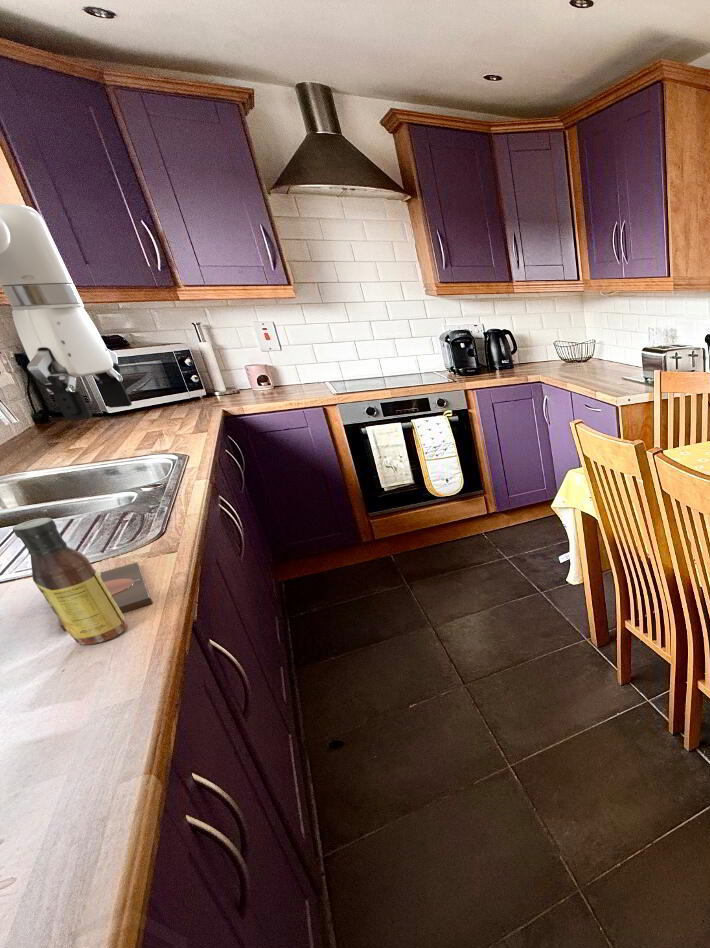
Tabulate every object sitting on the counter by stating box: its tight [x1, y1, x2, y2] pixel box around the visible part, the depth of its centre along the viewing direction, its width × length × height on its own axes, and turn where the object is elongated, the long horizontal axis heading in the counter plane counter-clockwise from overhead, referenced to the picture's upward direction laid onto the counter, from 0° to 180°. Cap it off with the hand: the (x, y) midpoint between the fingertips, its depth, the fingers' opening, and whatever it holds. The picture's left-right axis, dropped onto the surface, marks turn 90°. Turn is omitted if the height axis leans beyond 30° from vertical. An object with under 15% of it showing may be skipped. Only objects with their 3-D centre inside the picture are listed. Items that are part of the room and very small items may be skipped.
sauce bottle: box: [12, 517, 128, 646], centre depth 88 cm, size 6×6×20 cm
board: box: [59, 562, 153, 632], centre depth 104 cm, size 22×11×1 cm, turn 47°
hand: (101, 412), depth 94 cm, fingers open, 9 cm apart
